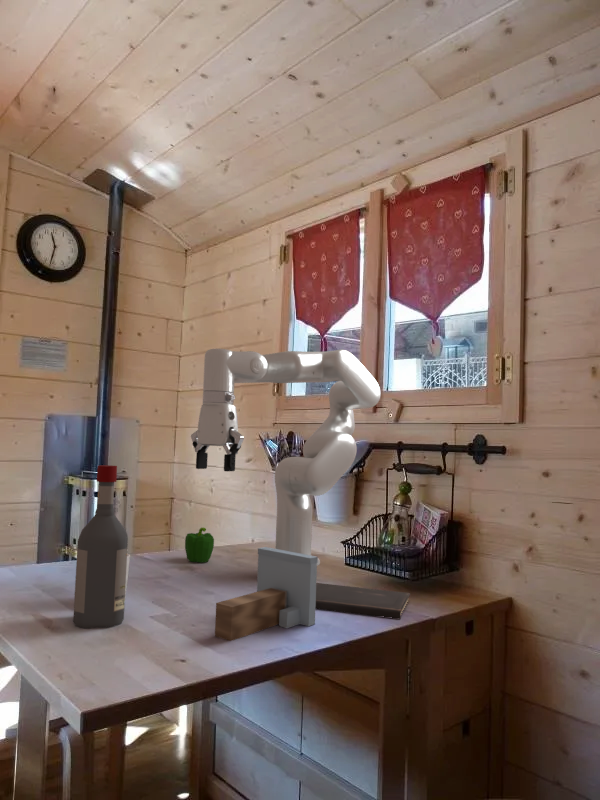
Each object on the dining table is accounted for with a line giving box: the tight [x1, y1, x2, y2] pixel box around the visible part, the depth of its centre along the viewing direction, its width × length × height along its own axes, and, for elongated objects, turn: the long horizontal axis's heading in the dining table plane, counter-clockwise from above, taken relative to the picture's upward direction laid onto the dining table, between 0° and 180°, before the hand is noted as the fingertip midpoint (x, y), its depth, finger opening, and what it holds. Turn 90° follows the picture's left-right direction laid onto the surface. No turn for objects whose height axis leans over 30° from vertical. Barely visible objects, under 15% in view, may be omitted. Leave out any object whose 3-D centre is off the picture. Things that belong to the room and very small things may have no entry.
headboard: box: [256, 546, 319, 629], centre depth 124 cm, size 6×14×13 cm, turn 52°
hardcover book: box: [315, 582, 411, 619], centre depth 138 cm, size 16×23×2 cm
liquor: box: [72, 464, 129, 629], centre depth 119 cm, size 9×9×30 cm
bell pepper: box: [184, 527, 215, 564], centre depth 177 cm, size 8×8×10 cm
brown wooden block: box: [214, 588, 287, 642], centre depth 117 cm, size 16×4×6 cm, turn 143°
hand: (215, 469), depth 148 cm, fingers open, 9 cm apart
